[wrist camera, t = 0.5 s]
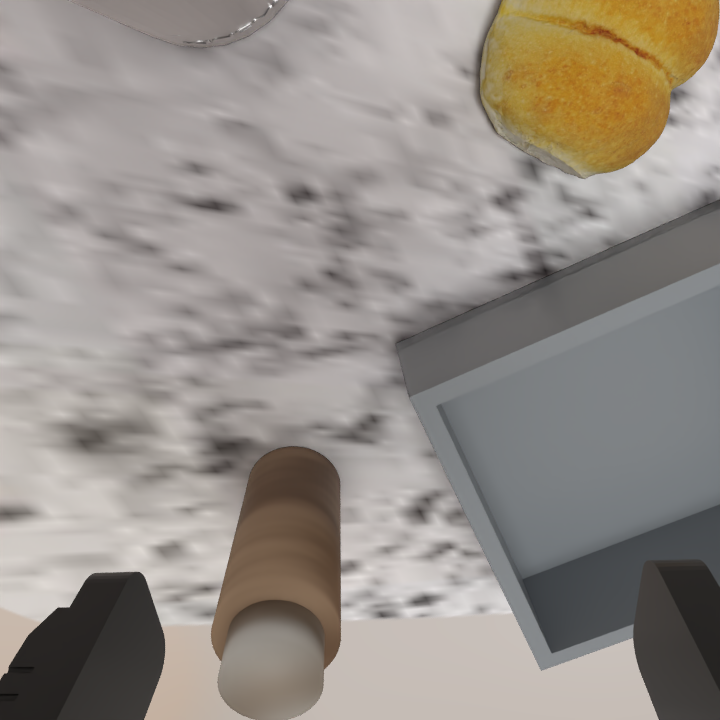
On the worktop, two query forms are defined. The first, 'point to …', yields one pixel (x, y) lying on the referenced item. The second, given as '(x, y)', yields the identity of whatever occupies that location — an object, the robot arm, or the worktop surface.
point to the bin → (585, 429)
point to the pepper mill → (281, 588)
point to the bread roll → (590, 75)
